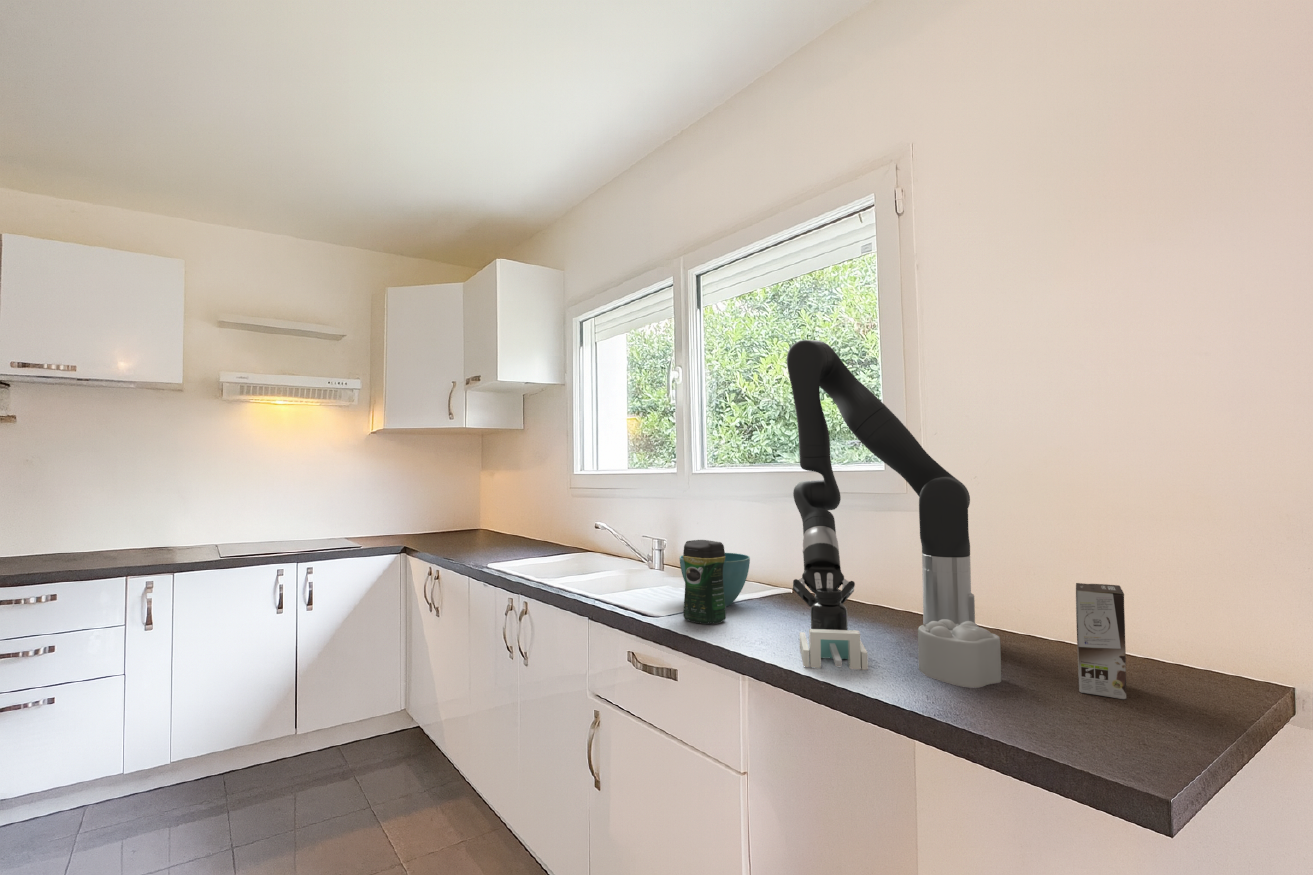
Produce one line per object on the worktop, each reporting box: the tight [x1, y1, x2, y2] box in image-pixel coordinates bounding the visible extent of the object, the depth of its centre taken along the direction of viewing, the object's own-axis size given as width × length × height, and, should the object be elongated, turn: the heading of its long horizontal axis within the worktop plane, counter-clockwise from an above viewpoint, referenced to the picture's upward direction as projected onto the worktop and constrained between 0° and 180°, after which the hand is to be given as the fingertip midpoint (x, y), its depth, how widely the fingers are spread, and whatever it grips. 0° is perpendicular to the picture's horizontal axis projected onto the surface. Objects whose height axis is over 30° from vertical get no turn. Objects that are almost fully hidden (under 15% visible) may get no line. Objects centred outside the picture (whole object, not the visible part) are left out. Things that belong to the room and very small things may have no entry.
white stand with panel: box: [799, 628, 869, 671], centre depth 125 cm, size 11×13×6 cm
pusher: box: [821, 639, 848, 668], centre depth 119 cm, size 8×12×4 cm, turn 171°
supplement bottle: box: [810, 588, 849, 630], centre depth 128 cm, size 7×7×12 cm
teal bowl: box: [679, 552, 751, 608], centre depth 174 cm, size 18×18×12 cm
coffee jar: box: [682, 539, 727, 625], centre depth 156 cm, size 10×8×19 cm
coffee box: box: [1075, 582, 1127, 700], centre depth 108 cm, size 9×6×16 cm
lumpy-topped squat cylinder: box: [917, 619, 1002, 689], centre depth 115 cm, size 10×13×9 cm
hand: (826, 623), depth 132 cm, fingers closed
